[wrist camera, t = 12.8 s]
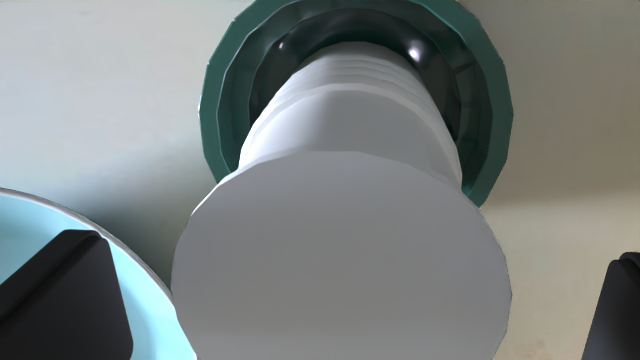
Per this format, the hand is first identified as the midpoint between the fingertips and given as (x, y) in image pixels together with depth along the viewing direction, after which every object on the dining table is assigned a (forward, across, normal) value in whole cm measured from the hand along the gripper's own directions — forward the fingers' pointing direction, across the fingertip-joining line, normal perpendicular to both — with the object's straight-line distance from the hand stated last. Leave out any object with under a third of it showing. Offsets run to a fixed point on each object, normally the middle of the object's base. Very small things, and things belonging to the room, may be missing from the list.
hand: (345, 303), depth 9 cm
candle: (+15, 0, +1) cm, 15 cm away
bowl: (+16, 0, +1) cm, 16 cm away
